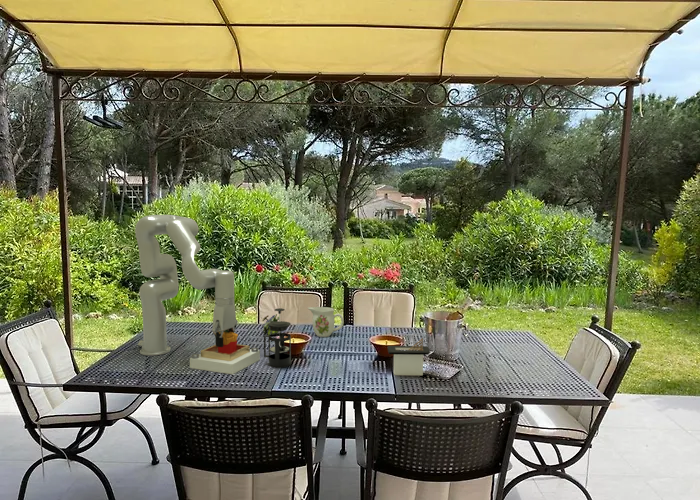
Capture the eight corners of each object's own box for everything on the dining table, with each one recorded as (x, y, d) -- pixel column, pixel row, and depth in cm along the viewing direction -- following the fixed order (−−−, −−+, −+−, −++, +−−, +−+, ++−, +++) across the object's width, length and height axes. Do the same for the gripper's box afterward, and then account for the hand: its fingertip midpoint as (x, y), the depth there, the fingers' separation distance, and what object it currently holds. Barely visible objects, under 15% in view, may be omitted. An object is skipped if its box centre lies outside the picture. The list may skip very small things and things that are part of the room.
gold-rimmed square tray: (189, 367, 208) (189, 352, 207) (219, 354, 227) (219, 339, 226) (232, 374, 201) (232, 357, 200) (259, 359, 219) (259, 344, 219)
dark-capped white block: (446, 363, 218) (447, 330, 216) (460, 388, 190) (461, 349, 188) (362, 363, 218) (362, 329, 216) (363, 387, 190) (364, 349, 188)
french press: (295, 361, 218) (294, 306, 216) (290, 368, 208) (290, 311, 206) (267, 360, 219) (267, 306, 217) (261, 367, 210) (260, 310, 207)
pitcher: (342, 338, 254) (343, 310, 252) (306, 337, 254) (306, 310, 253) (344, 332, 265) (344, 306, 263) (308, 332, 265) (308, 305, 264)
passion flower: (266, 343, 265) (264, 321, 270) (287, 339, 264) (285, 317, 270) (260, 335, 255) (259, 312, 261) (282, 331, 254) (280, 309, 260)
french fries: (215, 361, 214) (216, 332, 213) (220, 358, 217) (221, 330, 217) (234, 363, 212) (235, 334, 211) (238, 361, 215) (239, 332, 215)
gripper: (229, 297, 221) (230, 338, 222) (203, 304, 204) (204, 348, 206) (244, 298, 218) (245, 340, 220) (219, 306, 202) (220, 351, 203)
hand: (225, 343), depth 213 cm, fingers open, 7 cm apart
